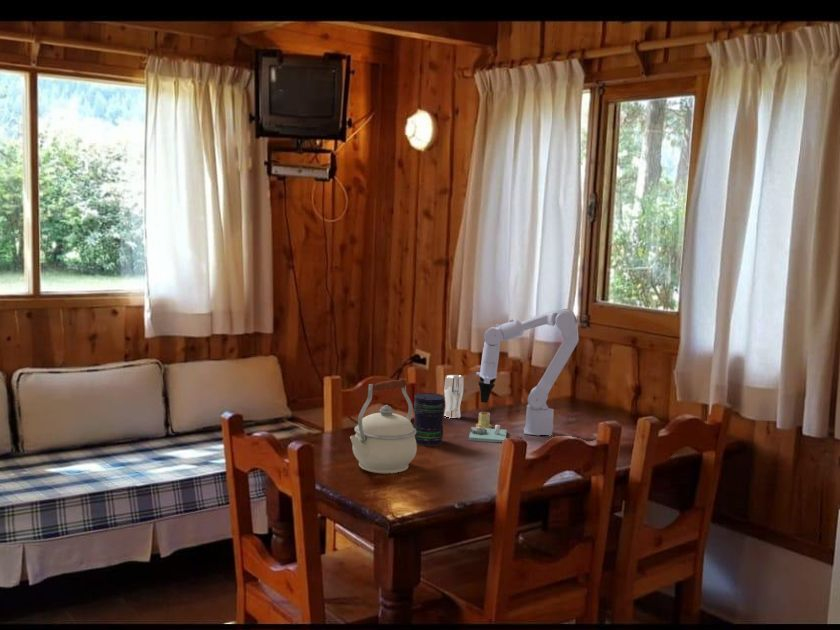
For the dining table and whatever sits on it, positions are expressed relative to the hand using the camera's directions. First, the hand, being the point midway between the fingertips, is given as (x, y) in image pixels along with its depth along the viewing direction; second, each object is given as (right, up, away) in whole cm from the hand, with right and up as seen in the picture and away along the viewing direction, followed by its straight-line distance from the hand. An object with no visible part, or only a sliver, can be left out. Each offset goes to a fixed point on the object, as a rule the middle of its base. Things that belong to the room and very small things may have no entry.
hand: (484, 399), depth 287 cm
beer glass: (-11, -8, +14) cm, 20 cm away
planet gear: (0, -10, +1) cm, 10 cm away
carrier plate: (0, -11, -11) cm, 16 cm away
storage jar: (-20, -11, -22) cm, 32 cm away
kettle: (-34, -14, -52) cm, 64 cm away
